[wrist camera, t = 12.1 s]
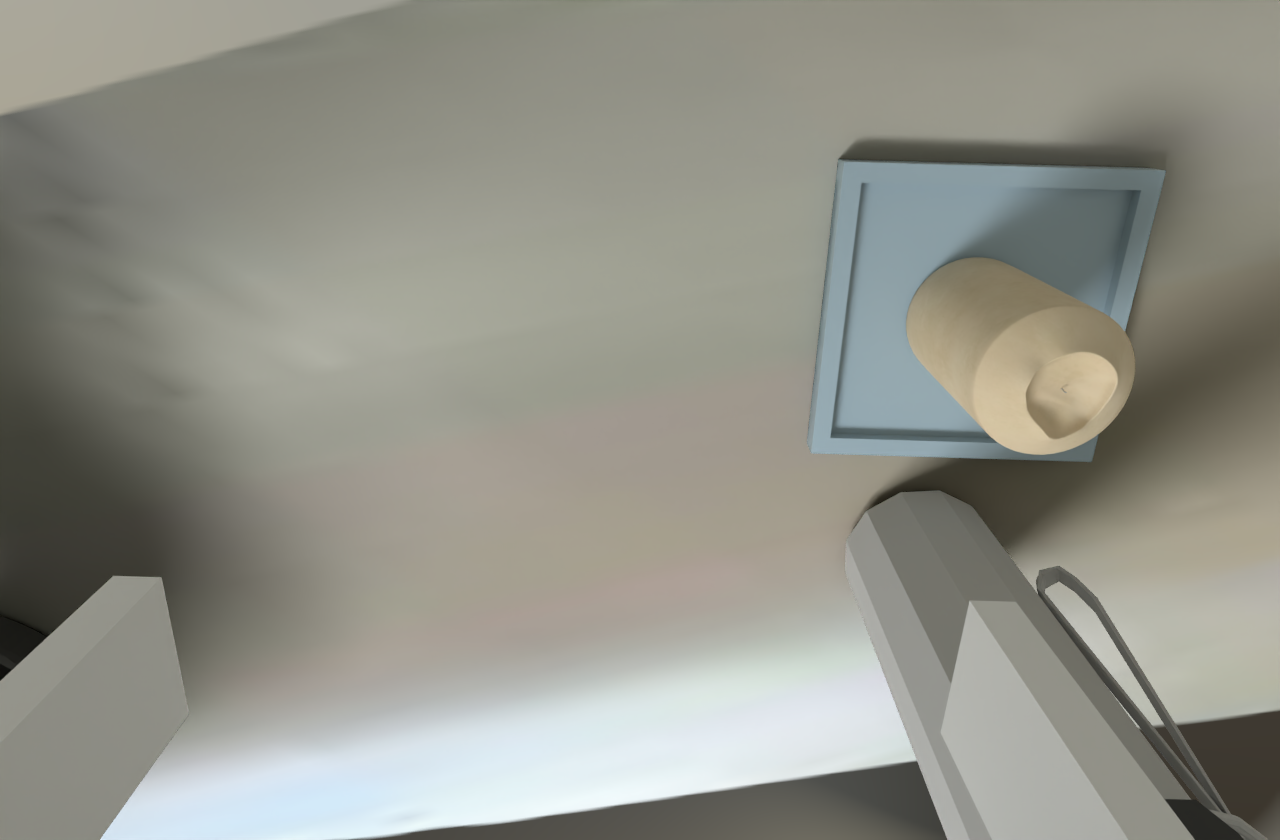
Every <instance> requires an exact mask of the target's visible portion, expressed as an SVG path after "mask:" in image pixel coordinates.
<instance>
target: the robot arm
mask: <svg viewBox="0 0 1280 840" xmlns="http://www.w3.org/2000/svg"><path fill="white" fill-rule="evenodd" d="M188 715H189V709H188V705H187V700H186V695H185V690H184V685H183V680H182V675H181V670H180V665H179V660H178V655H177V651H176V646H175V641H174V636H173V631H172V626H171V621H170V616H169V611H168V606H167V601H166V597H165V592H164V587H163V582H162V577H136V576H113V577H112V578H110V579H109V580H108V581H107V582H106V583H105V584H104V585H103V586H102V587H101V588H100V589H99V590H98V591H96V592H95V593H94V594H93V595H92V596H91V597H90V598H89V599H88V600H87V601H86V602H85V603H84V604H83V605H81V606H80V607H79V608H78V609H77V610H76V611H75V612H74V613H73V614H72V615H71V616H70V617H69V618H67V619H66V620H65V621H64V622H63V623H62V624H61V625H60V626H59V627H58V628H57V629H56V630H55V631H54V632H52V633H51V634H50V635H49V636H48V637H46V636H44V635H42V634H41V633H39V632H37V631H35V630H33V629H31V628H29V627H27V626H25V625H23V624H20V623H18V622H15V621H13V620H10V619H7V618H4V617H1V616H0V840H100V839H101V837H102V836H103V834H104V833H105V832H106V830H107V829H108V827H109V826H110V825H111V823H112V822H113V820H114V819H115V818H116V816H117V815H118V813H119V812H120V810H121V809H122V808H123V806H124V805H125V803H126V802H127V801H128V799H129V798H130V796H131V795H132V794H133V792H134V791H135V789H136V788H137V787H138V785H139V784H140V782H141V781H142V780H143V778H144V777H145V775H146V774H147V773H148V771H149V770H150V768H151V767H152V766H153V764H154V763H155V761H156V760H157V759H158V757H159V756H160V754H161V753H162V752H163V750H164V749H165V747H166V746H167V745H168V743H169V742H170V740H171V739H172V738H173V736H174V735H175V733H176V732H177V731H178V729H179V728H180V726H181V725H182V724H183V722H184V721H185V719H186V718H187V717H188ZM941 735H942V737H943V739H944V741H945V743H946V745H947V747H948V749H949V751H950V753H951V756H952V758H953V760H954V762H955V764H956V766H957V768H958V770H959V772H960V774H961V776H962V778H963V781H964V783H965V785H966V787H967V789H968V791H969V793H970V795H971V797H972V799H973V801H974V803H975V805H976V808H977V810H978V812H979V814H980V816H981V818H982V820H983V822H984V824H985V826H986V828H987V830H988V832H989V835H990V837H991V839H992V840H1244V839H1243V838H1242V837H1241V836H1240V834H1239V833H1238V832H1236V831H1235V830H1234V829H1233V828H1231V827H1230V826H1229V825H1227V824H1226V823H1225V822H1224V821H1222V820H1221V819H1220V818H1219V817H1217V816H1216V815H1215V814H1213V813H1212V812H1211V811H1210V810H1208V809H1207V808H1206V807H1205V806H1203V805H1202V804H1201V803H1199V802H1198V801H1197V800H1186V799H1164V798H1163V797H1162V795H1161V794H1160V793H1159V791H1158V790H1157V789H1156V787H1155V786H1154V785H1153V783H1152V782H1151V781H1150V780H1149V778H1148V777H1147V776H1146V774H1145V773H1144V772H1143V770H1142V769H1141V768H1140V766H1139V765H1138V764H1137V762H1136V761H1135V760H1134V758H1133V757H1132V756H1131V754H1130V753H1129V752H1128V750H1127V749H1126V748H1125V746H1124V745H1123V744H1122V742H1121V741H1120V740H1119V738H1118V737H1117V736H1116V734H1115V733H1114V732H1113V730H1112V729H1111V728H1110V726H1109V725H1108V724H1107V722H1106V721H1105V720H1104V718H1103V717H1102V716H1101V714H1100V713H1099V712H1098V710H1097V709H1096V708H1095V706H1094V705H1093V704H1092V702H1091V701H1090V700H1089V698H1088V697H1087V696H1086V694H1085V693H1084V692H1083V690H1082V689H1081V688H1080V687H1079V685H1078V684H1077V683H1076V681H1075V680H1074V679H1073V677H1072V676H1071V675H1070V673H1069V672H1068V671H1067V669H1066V668H1065V667H1064V665H1063V664H1062V663H1061V661H1060V660H1059V659H1058V657H1057V656H1056V655H1055V653H1054V652H1053V651H1052V649H1051V648H1050V647H1049V645H1048V644H1047V643H1046V641H1045V640H1044V639H1043V637H1042V636H1041V635H1040V633H1039V632H1038V631H1037V629H1036V628H1035V627H1034V625H1033V624H1032V623H1031V621H1030V620H1029V619H1028V617H1027V616H1026V615H1025V613H1024V612H1023V611H1022V609H1021V608H1020V607H1019V605H1018V604H1017V603H1016V602H1007V601H972V600H970V601H969V606H968V610H967V615H966V619H965V624H964V628H963V633H962V637H961V642H960V646H959V651H958V656H957V660H956V665H955V669H954V674H953V678H952V683H951V687H950V692H949V696H948V701H947V705H946V710H945V715H944V719H943V724H942V728H941Z"/></svg>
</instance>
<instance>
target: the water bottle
mask: <svg viewBox="0 0 1280 840" xmlns="http://www.w3.org/2000/svg"><path fill="white" fill-rule="evenodd" d="M845 574H846V576H847V579H848V582H849V584H850V587H851V589H852V592H853V595H854V597H855V600H856V602H857V605H858V608H859V610H860V613H861V615H862V618H863V621H864V623H865V626H866V628H867V631H868V634H869V636H870V639H871V642H872V644H873V647H874V649H875V652H876V655H877V657H878V660H879V662H880V665H881V668H882V670H883V673H884V675H885V678H886V681H887V683H888V686H889V688H890V691H891V694H892V696H893V699H894V701H895V704H896V707H897V709H898V712H899V714H900V717H901V720H902V722H903V725H904V727H905V730H906V733H907V735H908V738H909V740H910V743H911V746H912V748H913V751H914V753H915V756H916V759H917V761H918V764H919V766H920V769H921V772H922V774H923V777H924V779H925V782H926V785H927V787H928V790H929V793H930V795H931V798H932V800H933V803H934V805H935V808H936V811H937V813H938V816H939V819H940V821H941V824H942V826H943V829H944V832H945V834H946V837H947V839H948V840H992V839H991V837H990V835H989V832H988V830H987V828H986V826H985V824H984V822H983V820H982V818H981V816H980V814H979V812H978V810H977V808H976V805H975V803H974V801H973V799H972V797H971V795H970V793H969V791H968V789H967V787H966V785H965V783H964V781H963V778H962V776H961V774H960V772H959V770H958V768H957V766H956V764H955V762H954V760H953V758H952V756H951V753H950V751H949V749H948V747H947V745H946V743H945V741H944V739H943V737H942V735H941V728H942V724H943V719H944V715H945V710H946V705H947V701H948V696H949V692H950V687H951V683H952V678H953V674H954V669H955V665H956V660H957V656H958V651H959V646H960V642H961V637H962V633H963V628H964V624H965V619H966V615H967V610H968V606H969V601H970V600H972V601H1007V602H1016V603H1017V604H1018V605H1019V607H1020V608H1021V609H1022V611H1023V612H1024V613H1025V615H1026V616H1027V617H1028V619H1029V620H1030V621H1031V623H1032V624H1033V625H1034V627H1035V628H1036V629H1037V631H1038V632H1039V633H1040V635H1041V636H1042V637H1043V639H1044V640H1045V641H1046V643H1047V644H1048V645H1049V647H1050V648H1051V649H1052V651H1053V652H1054V653H1055V655H1056V656H1057V657H1058V659H1059V660H1060V661H1061V663H1062V664H1063V665H1064V667H1065V668H1066V669H1067V671H1068V672H1069V673H1070V675H1071V676H1072V677H1073V679H1074V680H1075V681H1076V683H1077V684H1078V685H1079V687H1080V688H1081V689H1082V690H1083V692H1084V693H1085V694H1086V696H1087V697H1088V698H1089V700H1090V701H1091V702H1092V704H1093V705H1094V706H1095V708H1096V709H1097V710H1098V712H1099V713H1100V714H1101V716H1102V717H1103V718H1104V720H1105V721H1106V722H1107V724H1108V725H1109V726H1110V728H1111V729H1112V730H1113V732H1114V733H1115V734H1116V736H1117V737H1118V738H1119V740H1120V741H1121V742H1122V744H1123V745H1124V746H1125V748H1126V749H1127V750H1128V752H1129V753H1130V754H1131V756H1132V757H1133V758H1134V760H1135V761H1136V762H1137V764H1138V765H1139V766H1140V768H1141V769H1142V770H1143V772H1144V773H1145V774H1146V776H1147V777H1148V778H1149V780H1150V781H1151V782H1152V783H1153V785H1154V786H1155V787H1156V789H1157V790H1158V791H1159V793H1160V794H1161V795H1162V797H1163V798H1164V799H1186V800H1191V799H1190V798H1189V796H1188V795H1187V794H1186V792H1185V791H1184V790H1183V788H1182V787H1181V786H1180V784H1179V783H1178V782H1177V780H1176V779H1175V778H1174V776H1173V775H1172V774H1171V772H1170V771H1169V770H1168V768H1167V767H1166V765H1165V764H1164V763H1163V761H1162V760H1161V759H1160V757H1159V756H1158V755H1157V753H1156V752H1155V751H1154V749H1153V748H1152V747H1151V745H1150V744H1149V743H1148V741H1147V740H1146V739H1145V737H1144V736H1143V735H1142V733H1141V732H1140V731H1139V729H1138V728H1137V727H1136V725H1135V724H1134V723H1133V721H1132V720H1131V719H1130V717H1129V716H1128V715H1127V713H1126V712H1125V711H1124V709H1123V708H1122V706H1123V707H1124V708H1125V709H1126V711H1127V712H1128V713H1129V714H1130V716H1131V717H1132V718H1133V719H1134V720H1135V722H1136V723H1137V724H1138V725H1139V727H1140V728H1141V729H1142V730H1143V732H1144V733H1145V734H1146V735H1147V737H1148V738H1149V739H1150V740H1151V741H1152V743H1153V744H1154V745H1155V746H1156V748H1157V749H1158V750H1159V751H1160V752H1161V754H1162V755H1163V756H1164V758H1165V759H1166V760H1167V761H1168V763H1169V764H1170V765H1171V766H1172V768H1173V769H1174V770H1175V771H1176V772H1177V774H1178V775H1179V776H1180V777H1181V779H1182V780H1183V781H1184V782H1185V783H1186V785H1187V786H1188V787H1189V788H1190V790H1191V791H1192V792H1193V793H1194V795H1195V796H1196V797H1197V798H1198V800H1199V801H1200V802H1201V803H1202V805H1203V806H1205V807H1206V808H1207V809H1208V810H1210V811H1211V812H1212V813H1213V814H1215V815H1216V816H1217V817H1219V818H1220V819H1221V820H1222V821H1224V822H1225V823H1226V824H1227V825H1229V826H1230V827H1231V828H1233V829H1234V830H1235V831H1236V832H1238V833H1239V834H1240V836H1241V837H1242V838H1243V839H1244V840H1268V839H1267V838H1266V837H1264V836H1263V835H1262V834H1261V833H1259V832H1258V831H1257V830H1255V829H1254V828H1253V827H1251V826H1250V825H1249V824H1247V823H1246V822H1245V821H1243V820H1242V819H1241V818H1239V817H1237V816H1234V815H1231V814H1230V812H1229V810H1228V809H1227V807H1226V806H1225V804H1224V802H1223V801H1222V799H1221V797H1220V796H1219V794H1218V792H1217V791H1216V789H1215V788H1214V786H1213V784H1212V783H1211V781H1210V780H1209V778H1208V776H1207V775H1206V773H1205V772H1204V770H1203V769H1202V767H1201V765H1200V763H1199V762H1198V760H1197V759H1196V757H1195V755H1194V754H1193V752H1192V750H1191V749H1190V747H1189V746H1188V744H1187V742H1186V741H1185V739H1184V737H1183V736H1182V734H1181V733H1180V731H1179V729H1178V728H1177V726H1176V725H1175V723H1174V721H1173V720H1172V718H1171V716H1170V715H1169V713H1168V712H1167V710H1166V708H1165V707H1164V705H1163V704H1162V702H1161V700H1160V699H1159V697H1158V695H1157V694H1156V692H1155V691H1154V689H1153V687H1152V686H1151V684H1150V682H1149V681H1148V679H1147V678H1146V676H1145V674H1144V673H1143V671H1142V670H1141V668H1140V666H1139V665H1138V663H1137V661H1136V660H1135V658H1134V657H1133V655H1132V653H1131V652H1130V650H1129V648H1128V647H1127V645H1126V644H1125V642H1124V640H1123V639H1122V637H1121V636H1120V634H1119V632H1118V631H1117V629H1116V627H1115V626H1114V624H1113V623H1112V621H1111V619H1110V618H1109V616H1108V615H1107V613H1106V611H1105V610H1104V608H1103V606H1102V605H1101V603H1100V602H1099V600H1098V598H1097V597H1096V596H1095V595H1094V594H1093V593H1092V592H1091V591H1090V590H1089V589H1088V588H1087V587H1086V586H1085V585H1084V584H1083V583H1081V582H1080V581H1079V580H1078V579H1077V578H1076V577H1075V576H1073V575H1072V574H1070V573H1069V572H1067V571H1066V570H1065V569H1063V568H1062V567H1060V566H1056V567H1052V568H1047V569H1043V570H1039V575H1038V577H1037V580H1036V584H1037V591H1038V594H1037V593H1036V591H1035V590H1034V589H1033V587H1032V586H1031V584H1030V583H1029V582H1028V580H1027V579H1026V578H1025V576H1024V575H1023V574H1022V572H1021V571H1020V570H1019V568H1018V567H1017V566H1016V564H1015V563H1014V562H1013V560H1012V559H1011V558H1010V556H1009V555H1008V554H1007V552H1006V551H1005V550H1004V548H1003V547H1002V546H1001V544H1000V543H999V542H998V540H997V539H996V538H995V536H994V535H993V534H992V532H991V531H990V530H989V528H988V527H987V525H986V524H985V523H984V521H983V520H982V519H981V517H980V516H979V515H978V513H977V512H976V511H975V509H974V508H973V507H972V506H971V505H969V504H967V503H965V502H963V501H961V500H959V499H956V498H954V497H952V496H950V495H948V494H946V493H944V492H942V491H940V490H938V491H917V492H900V493H898V494H897V495H895V496H893V497H891V498H889V499H887V500H886V501H884V502H882V503H880V504H878V505H876V506H874V507H873V508H871V509H869V510H867V511H866V512H865V513H864V515H863V516H862V518H861V519H860V521H859V522H858V524H857V525H856V527H855V528H854V530H853V531H852V533H851V534H850V536H849V537H848V538H847V540H846V558H845ZM1058 581H1059V582H1061V583H1062V584H1064V585H1065V586H1067V587H1068V588H1070V589H1071V590H1073V591H1074V592H1076V593H1077V594H1078V595H1079V596H1080V598H1081V599H1082V600H1083V601H1084V602H1085V603H1086V604H1087V605H1088V606H1089V607H1090V608H1091V609H1092V610H1093V611H1094V612H1095V613H1096V614H1097V616H1098V618H1099V619H1100V621H1101V622H1102V624H1103V626H1104V627H1105V629H1106V631H1107V632H1108V634H1109V635H1110V637H1111V639H1112V640H1113V642H1114V643H1115V645H1116V647H1117V648H1118V650H1119V652H1120V653H1121V655H1122V656H1123V658H1124V660H1125V661H1126V663H1127V665H1128V666H1129V668H1130V669H1131V671H1132V673H1133V674H1134V676H1135V678H1136V679H1137V681H1138V682H1139V684H1140V686H1141V687H1142V689H1143V691H1144V692H1145V694H1146V695H1147V697H1148V699H1149V700H1150V702H1151V704H1152V705H1153V707H1154V708H1155V710H1156V712H1157V713H1158V715H1159V717H1160V718H1161V720H1162V721H1163V723H1164V725H1165V726H1166V728H1167V730H1168V731H1169V733H1170V734H1171V736H1172V738H1173V739H1174V741H1175V742H1176V744H1177V746H1178V747H1179V749H1180V750H1181V752H1182V754H1183V755H1184V757H1185V759H1186V760H1187V762H1188V764H1189V765H1190V767H1191V768H1192V770H1193V772H1194V773H1195V775H1196V777H1197V778H1198V780H1199V781H1200V783H1201V785H1202V786H1203V788H1204V789H1203V788H1202V787H1201V785H1200V784H1199V783H1198V782H1197V780H1196V779H1195V778H1194V777H1193V775H1192V774H1191V773H1190V772H1189V771H1188V769H1187V768H1186V767H1185V766H1184V764H1183V763H1182V762H1181V761H1180V759H1179V758H1178V757H1177V756H1176V754H1175V753H1174V752H1173V751H1172V750H1171V748H1170V747H1169V746H1168V745H1167V744H1166V742H1165V741H1164V740H1163V738H1162V737H1161V736H1160V735H1159V733H1157V731H1156V730H1155V728H1154V727H1153V726H1152V725H1151V724H1150V722H1149V721H1148V720H1147V719H1146V717H1145V716H1144V715H1143V714H1142V712H1141V711H1140V710H1139V709H1138V707H1137V706H1136V705H1135V704H1134V702H1133V701H1132V700H1131V699H1130V698H1129V696H1128V695H1127V694H1126V693H1125V691H1124V690H1123V689H1122V688H1121V686H1120V685H1119V684H1118V683H1117V681H1116V680H1115V679H1114V678H1113V677H1112V675H1111V674H1110V673H1109V672H1108V670H1107V669H1106V668H1105V667H1104V665H1103V664H1102V663H1101V662H1100V660H1099V659H1098V658H1097V657H1096V655H1095V654H1094V653H1093V652H1092V651H1091V649H1090V648H1089V647H1088V646H1087V644H1086V643H1085V642H1084V641H1083V639H1082V638H1081V637H1080V636H1079V634H1078V633H1077V632H1076V631H1075V630H1074V628H1073V627H1072V626H1071V625H1070V623H1069V622H1068V621H1067V620H1066V618H1065V617H1064V616H1063V615H1062V613H1061V612H1060V611H1059V610H1058V608H1057V607H1056V606H1055V605H1054V604H1053V602H1052V601H1051V600H1050V599H1049V597H1048V596H1047V595H1046V594H1045V589H1046V588H1047V587H1049V586H1051V585H1053V584H1055V583H1057V582H1058ZM1104 683H1105V684H1104ZM1107 687H1108V688H1109V689H1108V688H1107ZM1110 691H1111V692H1112V693H1113V694H1112V693H1111V692H1110ZM1113 695H1114V696H1115V697H1116V698H1117V699H1118V701H1119V702H1120V703H1121V704H1122V706H1121V705H1120V704H1119V702H1118V701H1117V700H1116V698H1115V697H1114V696H1113ZM1205 791H1206V792H1205Z"/></svg>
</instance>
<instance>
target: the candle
mask: <svg viewBox="0 0 1280 840" xmlns="http://www.w3.org/2000/svg"><path fill="white" fill-rule="evenodd" d="M906 332H907V338H908V341H909V344H910V347H911V349H912V351H913V353H914V355H915V356H916V358H917V359H918V360H919V361H920V363H921V364H922V365H923V366H924V367H925V368H926V369H927V370H928V371H929V373H930V374H931V375H932V376H933V377H934V378H935V379H936V380H937V381H938V382H939V383H940V384H941V385H942V386H943V387H944V388H945V389H946V390H947V391H948V393H949V394H950V395H951V396H952V397H953V398H954V399H955V400H956V401H957V402H958V403H959V404H960V405H961V406H962V407H963V408H964V409H965V410H966V412H967V413H968V414H969V415H970V416H971V417H972V418H973V419H974V420H975V421H976V422H977V423H978V424H979V425H980V426H981V427H982V428H983V429H984V430H985V432H986V433H987V434H988V435H989V436H990V437H991V438H993V439H994V440H995V441H996V442H998V443H999V444H1001V445H1003V446H1004V447H1006V448H1009V449H1011V450H1013V451H1017V452H1021V453H1025V454H1033V455H1045V454H1054V453H1059V452H1063V451H1066V450H1069V449H1072V448H1075V447H1077V446H1079V445H1082V444H1084V443H1085V442H1087V441H1089V440H1091V439H1092V438H1094V437H1095V436H1096V435H1098V434H1099V433H1100V432H1102V431H1103V430H1104V429H1105V428H1106V427H1107V426H1108V425H1109V424H1110V423H1111V422H1112V421H1113V420H1114V419H1115V418H1116V417H1117V415H1118V414H1119V412H1120V411H1121V410H1122V408H1123V407H1124V405H1125V403H1126V401H1127V399H1128V397H1129V395H1130V392H1131V389H1132V386H1133V382H1134V377H1135V356H1134V351H1133V348H1132V345H1131V342H1130V340H1129V338H1128V336H1127V334H1126V333H1125V331H1124V330H1123V329H1122V328H1121V326H1120V325H1119V324H1118V323H1117V322H1116V321H1114V320H1113V319H1112V318H1111V317H1109V316H1108V315H1106V314H1105V313H1103V312H1101V311H1099V310H1097V309H1095V308H1093V307H1091V306H1089V305H1087V304H1085V303H1083V302H1081V301H1079V300H1077V299H1076V298H1074V297H1072V296H1070V295H1068V294H1066V293H1064V292H1062V291H1060V290H1058V289H1056V288H1054V287H1052V286H1050V285H1048V284H1046V283H1044V282H1042V281H1040V280H1038V279H1036V278H1035V277H1033V276H1031V275H1029V274H1027V273H1025V272H1023V271H1021V270H1019V269H1017V268H1015V267H1013V266H1010V265H1008V264H1006V263H1004V262H1002V261H999V260H995V259H991V258H983V257H971V258H964V259H960V260H956V261H954V262H951V263H948V264H946V265H945V266H943V267H941V268H939V269H938V270H936V271H935V272H933V273H932V274H931V275H930V276H929V277H928V278H927V279H926V280H925V281H924V282H923V283H922V284H921V285H920V287H919V288H918V289H917V291H916V292H915V294H914V296H913V298H912V300H911V303H910V305H909V308H908V312H907V318H906Z"/></svg>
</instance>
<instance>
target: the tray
mask: <svg viewBox="0 0 1280 840" xmlns="http://www.w3.org/2000/svg"><path fill="white" fill-rule="evenodd" d="M1165 173H1166V171H1165V170H1160V169H1154V168H1137V167H1101V166H1065V165H1028V164H992V163H956V162H920V161H883V160H847V159H838V166H837V175H836V184H835V193H834V202H833V211H832V220H831V229H830V238H829V247H828V256H827V265H826V274H825V283H824V292H823V301H822V310H821V319H820V329H819V338H818V347H817V356H816V365H815V374H814V383H813V392H812V401H811V410H810V419H809V428H808V437H807V444H808V447H809V449H810V452H811V453H818V454H850V455H882V456H915V457H947V458H979V459H1012V460H1044V461H1077V462H1092V459H1093V455H1094V451H1095V447H1096V443H1097V439H1098V435H1099V434H1098V435H1096V436H1095V437H1094V438H1092V439H1091V440H1089V441H1087V442H1085V443H1084V444H1082V445H1079V446H1077V447H1075V448H1072V449H1069V450H1066V451H1063V452H1059V453H1054V454H1045V455H1033V454H1025V453H1021V452H1017V451H1013V450H1011V449H1009V448H1006V447H1004V446H1003V445H1001V444H999V443H998V442H996V441H995V440H994V439H993V438H991V437H990V436H989V435H988V434H987V433H986V432H985V430H984V429H983V428H982V427H981V426H980V425H979V424H978V423H977V422H976V421H975V420H974V419H973V418H972V417H971V416H970V415H969V414H968V413H967V412H966V410H965V409H964V408H963V407H962V406H961V405H960V404H959V403H958V402H957V401H956V400H955V399H954V398H953V397H952V396H951V395H950V394H949V393H948V391H947V390H946V389H945V388H944V387H943V386H942V385H941V384H940V383H939V382H938V381H937V380H936V379H935V378H934V377H933V376H932V375H931V374H930V373H929V371H928V370H927V369H926V368H925V367H924V366H923V365H922V364H921V363H920V361H919V360H918V359H917V358H916V356H915V355H914V353H913V351H912V349H911V347H910V344H909V341H908V338H907V332H906V318H907V312H908V308H909V305H910V303H911V300H912V298H913V296H914V294H915V292H916V291H917V289H918V288H919V287H920V285H921V284H922V283H923V282H924V281H925V280H926V279H927V278H928V277H929V276H930V275H931V274H932V273H933V272H935V271H936V270H938V269H939V268H941V267H943V266H945V265H946V264H948V263H951V262H954V261H956V260H960V259H964V258H971V257H983V258H991V259H995V260H999V261H1002V262H1004V263H1006V264H1008V265H1010V266H1013V267H1015V268H1017V269H1019V270H1021V271H1023V272H1025V273H1027V274H1029V275H1031V276H1033V277H1035V278H1036V279H1038V280H1040V281H1042V282H1044V283H1046V284H1048V285H1050V286H1052V287H1054V288H1056V289H1058V290H1060V291H1062V292H1064V293H1066V294H1068V295H1070V296H1072V297H1074V298H1076V299H1077V300H1079V301H1081V302H1083V303H1085V304H1087V305H1089V306H1091V307H1093V308H1095V309H1097V310H1099V311H1101V312H1103V313H1105V314H1106V315H1108V316H1109V317H1111V318H1112V319H1113V320H1114V321H1116V322H1117V323H1118V324H1119V325H1120V326H1121V328H1122V329H1123V330H1124V331H1125V330H1126V326H1127V322H1128V318H1129V314H1130V310H1131V306H1132V302H1133V298H1134V295H1135V291H1136V287H1137V283H1138V279H1139V275H1140V271H1141V267H1142V263H1143V259H1144V255H1145V252H1146V248H1147V244H1148V240H1149V236H1150V232H1151V228H1152V224H1153V220H1154V216H1155V212H1156V209H1157V205H1158V201H1159V197H1160V193H1161V189H1162V185H1163V181H1164V177H1165Z"/></svg>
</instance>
